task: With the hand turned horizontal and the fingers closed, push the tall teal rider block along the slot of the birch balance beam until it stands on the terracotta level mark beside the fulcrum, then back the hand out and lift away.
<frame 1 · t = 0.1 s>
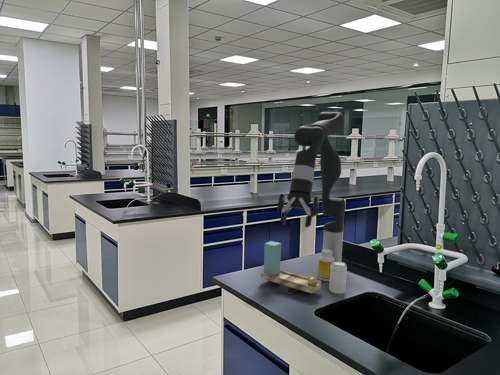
hand: (294, 225, 124), 31 cm above the counter, tool tilted 20°, fingers open, 8 cm apart
rider: (272, 258, 153), point 11 cm above the counter, slide at -9.0 cm
supplement bottle: (325, 279, 160), on the counter
beam: (290, 279, 149), on the fulcrum, point 4 cm above the counter
fulcrum: (289, 287, 149), on the counter
counterweight: (312, 281, 142), point 6 cm above the counter
can: (337, 291, 147), on the counter
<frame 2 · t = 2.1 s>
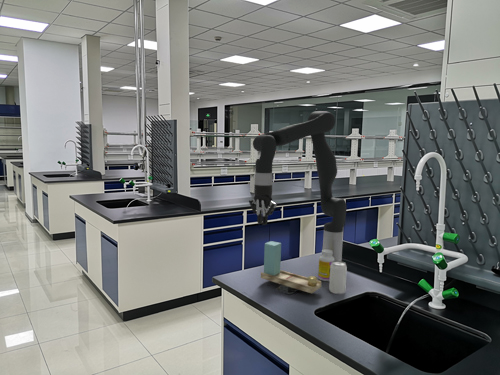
hand: (262, 224, 153), 25 cm above the counter, tool pointing down, fingers closed
nothing on the counter moved.
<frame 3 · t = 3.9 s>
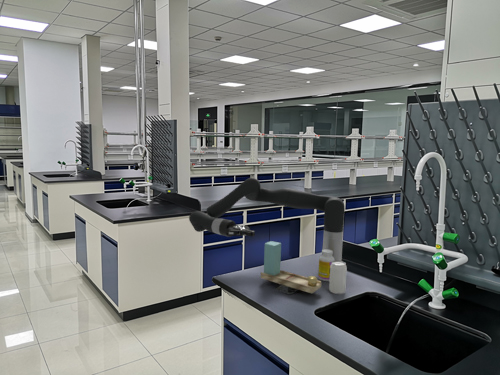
hand: (253, 234, 158), 19 cm above the counter, tool horizontal, fingers closed
nothing on the counter moved.
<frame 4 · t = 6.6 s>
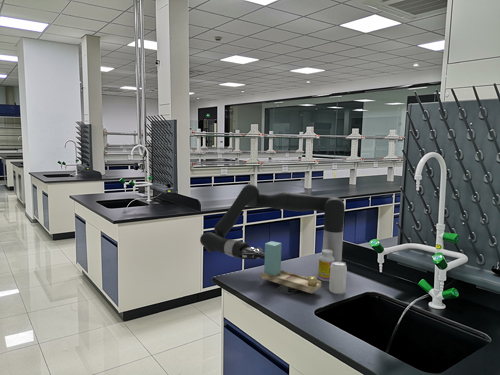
hand: (268, 256, 154), 11 cm above the counter, tool horizontal, fingers closed
rider: (272, 258, 153), point 11 cm above the counter, slide at -8.8 cm, touching gripper
everything else where it was.
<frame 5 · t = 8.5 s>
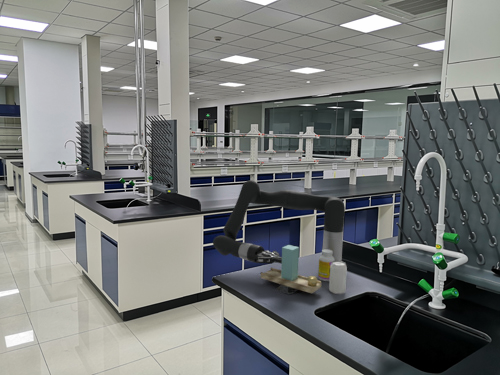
hand: (284, 261, 149), 11 cm above the counter, tool horizontal, fingers closed
rider: (290, 262, 148), point 11 cm above the counter, slide at -0.4 cm, touching gripper
everything else where it was.
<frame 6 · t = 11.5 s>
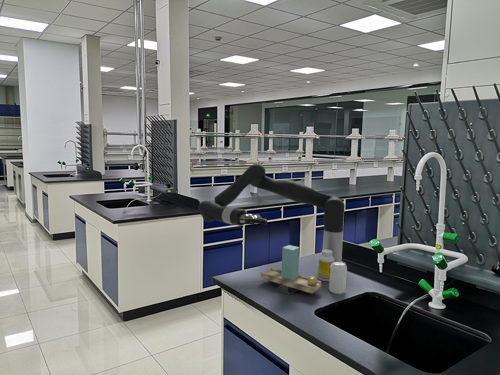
hand: (266, 222, 153), 26 cm above the counter, tool horizontal, fingers closed
rider: (290, 262, 148), point 11 cm above the counter, slide at -0.3 cm
everything else where it was.
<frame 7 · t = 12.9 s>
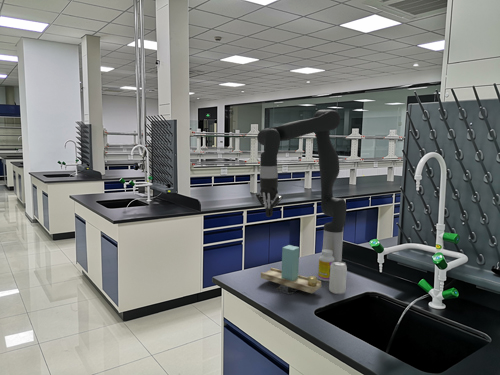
hand: (269, 216, 156), 28 cm above the counter, tool pointing down, fingers closed
nothing on the counter moved.
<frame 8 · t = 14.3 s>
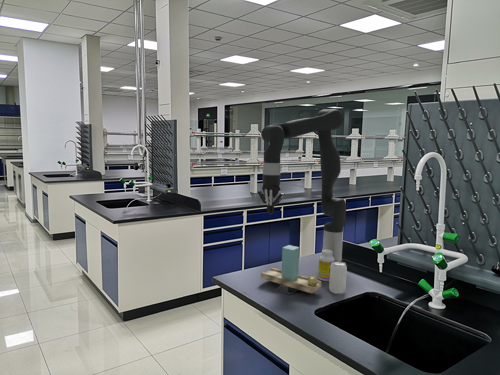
hand: (270, 213, 155), 29 cm above the counter, tool pointing down, fingers closed
nothing on the counter moved.
at the end: rider slide at -0.3 cm; the gripper is holding nothing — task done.
